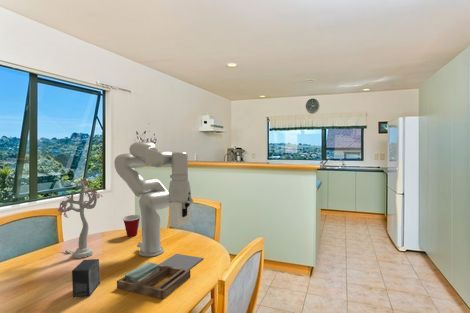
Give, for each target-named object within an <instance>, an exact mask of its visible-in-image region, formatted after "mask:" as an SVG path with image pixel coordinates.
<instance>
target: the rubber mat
mask: <svg viewBox="0 0 470 313" xmlns="http://www.w3.org/2000/svg"><path fill="white" fill-rule="evenodd" d="M203 260H204V257H202V256H196V255H195V256H194V255H189V254H181V253H174V254H173V255H172V256H170V257H168V258H167V259H165V260H163V261H161V262H160V263H158V264H159V265H165V266H170V267H176V268H181V269H187V270H190V271H191V269H193V268H194V267H195V266H197V265H198V264H199V263H200V262H202V261H203Z"/></svg>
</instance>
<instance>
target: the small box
mask: <svg viewBox="0 0 470 313" xmlns="http://www.w3.org/2000/svg"><path fill="white" fill-rule="evenodd" d="M100 278H101V277H100V259H99V258H95V259H94V258H93V259H83V260H81V262H80V263H79V264H77V266H76V267H74V268H73V269H72V270H71V279H72V282H71V283H72V298H88V297H87V296H90V297H91V295H92V294H93V293H94V292H95V290H96V289H97V288H98V286H100V285H101V279H100ZM85 296H86V297H85Z"/></svg>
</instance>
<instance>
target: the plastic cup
mask: <svg viewBox="0 0 470 313" xmlns="http://www.w3.org/2000/svg"><path fill="white" fill-rule="evenodd" d="M121 219H122V221H123V223H124V227H125V231H126V232H125V233H126V236H127V238H133V237H137V235H138V230H139V223H140V219H141V215H139V214H129V215H125V216H123V217H122V218H121Z"/></svg>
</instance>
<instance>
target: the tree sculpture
mask: <svg viewBox="0 0 470 313" xmlns="http://www.w3.org/2000/svg"><path fill="white" fill-rule="evenodd" d="M85 179H86V177H84V178H82V179H81V180H79V181H78V182H77V183H76V186H75V187H76V189H78V186H79V184H80V186H81V189H80V191H79V197H78V198H79V199H78V200H74V195H77V194H76V193H72V194H69V195H66V196H64V197H63V199H64V198H65V199H66V200H62V201H61V202H60V203H59V207H58V210H57V211H58V213H59V215H60V216H62V215H63V216H64V218H70V217H69V216H68V215H67V212H69V211H74V212H77V213H79V216H80V219H81V223H82V229H81V230H80V231H81V232H80V234H79V237H78V247H77V248H76V249H75V250H74V251H72V250H69V249H66V250H64V251H65V252H66V253H67V254H70V252H71V253H72V258H74V257H75V258H74V259H83V258H82V257H85V258H88V257H90V255H91V256H92V255H93V252H94V251H93V250H94V249H93V248H91V247H89V246H88V234H89V224H88V221H87V219H86V217H85V209H87V210H92V209H94V208H95V207H96V205H97V201H98V200H99V199H100V197H101V198H103V195H101V194H100V193H98V191H97V190H96V189H97V187H94V188H93V189H92V188H91V186H90V185H88V184H87V181H86V180H85ZM88 179H89V180H90V178H88V177H87V180H88ZM86 187H87V188H86ZM90 191H91V193H90ZM84 196H87V198H88V200H84ZM68 205H69V206H68ZM74 205H79V208H77V207H75V206H74ZM67 206H68V207H67ZM65 252H64V253H65ZM87 256H88V257H87Z"/></svg>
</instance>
